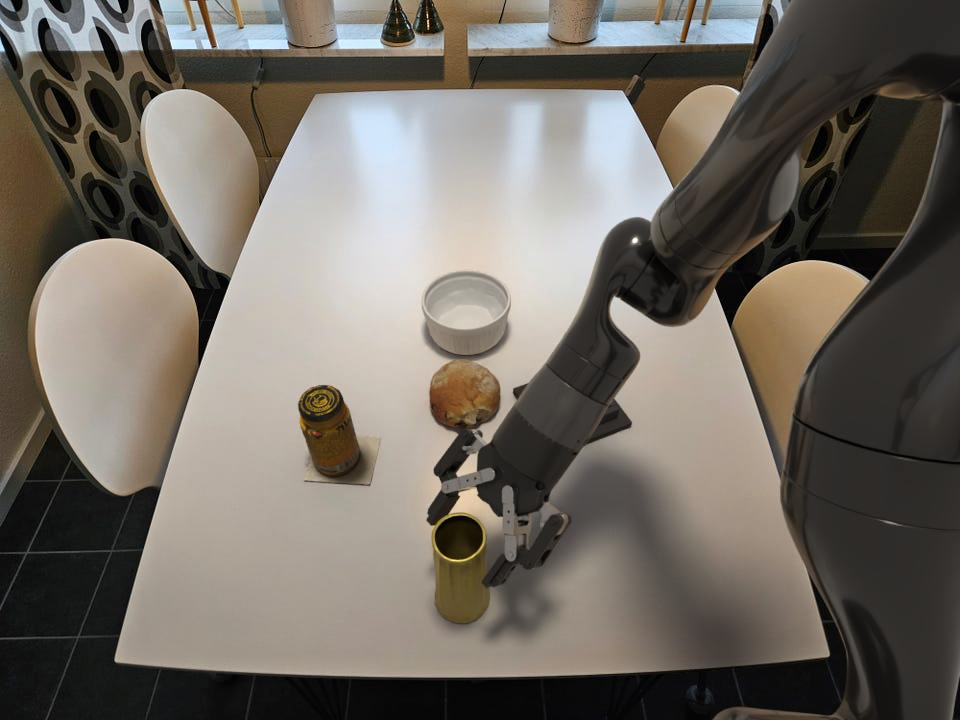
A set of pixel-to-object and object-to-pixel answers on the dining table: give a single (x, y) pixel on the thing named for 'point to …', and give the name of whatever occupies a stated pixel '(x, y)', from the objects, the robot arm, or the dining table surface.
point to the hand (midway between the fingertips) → (459, 552)
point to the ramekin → (466, 310)
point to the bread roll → (464, 394)
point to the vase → (460, 567)
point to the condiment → (334, 439)
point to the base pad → (609, 423)
